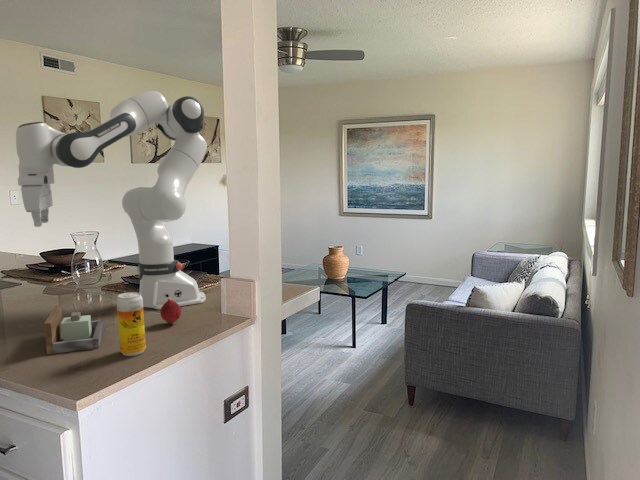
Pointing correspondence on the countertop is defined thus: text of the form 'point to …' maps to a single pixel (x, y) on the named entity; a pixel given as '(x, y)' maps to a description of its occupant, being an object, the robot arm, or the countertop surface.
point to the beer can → (131, 323)
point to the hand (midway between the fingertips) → (41, 224)
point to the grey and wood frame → (55, 334)
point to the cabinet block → (76, 327)
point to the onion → (170, 311)
